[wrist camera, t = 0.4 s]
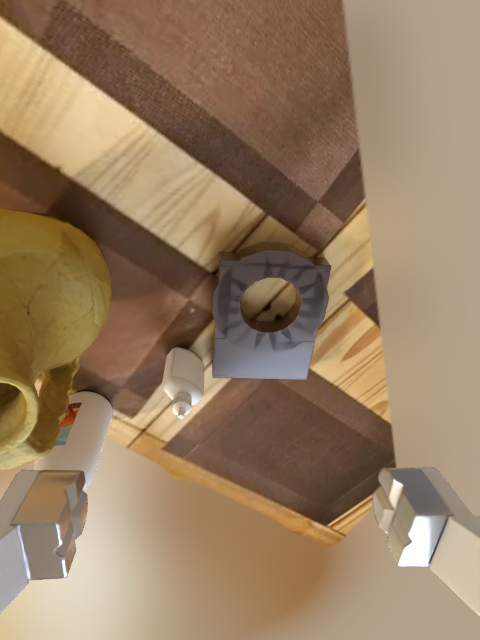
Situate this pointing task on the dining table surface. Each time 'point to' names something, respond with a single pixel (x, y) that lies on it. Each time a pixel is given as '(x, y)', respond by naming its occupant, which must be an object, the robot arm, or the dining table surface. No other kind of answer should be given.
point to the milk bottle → (80, 436)
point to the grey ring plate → (275, 336)
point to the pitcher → (44, 326)
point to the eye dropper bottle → (183, 380)
